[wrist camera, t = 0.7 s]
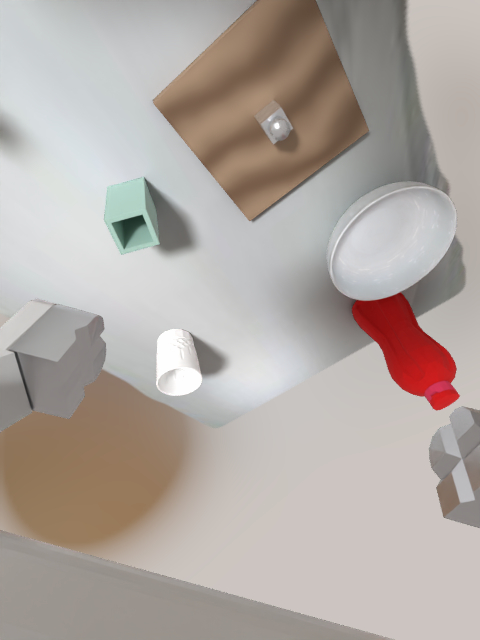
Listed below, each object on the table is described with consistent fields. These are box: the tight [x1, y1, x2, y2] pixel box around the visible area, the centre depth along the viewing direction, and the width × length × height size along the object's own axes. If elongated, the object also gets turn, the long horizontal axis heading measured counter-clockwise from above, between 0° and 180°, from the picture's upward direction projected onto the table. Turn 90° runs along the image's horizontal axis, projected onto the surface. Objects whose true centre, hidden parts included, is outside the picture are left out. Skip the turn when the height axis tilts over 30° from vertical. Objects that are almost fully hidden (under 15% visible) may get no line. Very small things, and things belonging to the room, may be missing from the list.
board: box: [153, 0, 369, 221], centre depth 47 cm, size 20×20×2 cm
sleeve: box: [104, 177, 160, 255], centre depth 48 cm, size 5×5×9 cm
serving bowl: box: [327, 181, 457, 301], centre depth 61 cm, size 21×21×7 cm
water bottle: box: [352, 293, 459, 410], centre depth 68 cm, size 9×11×25 cm
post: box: [254, 100, 293, 144], centre depth 45 cm, size 3×3×5 cm
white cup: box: [156, 329, 202, 396], centre depth 69 cm, size 8×8×10 cm
